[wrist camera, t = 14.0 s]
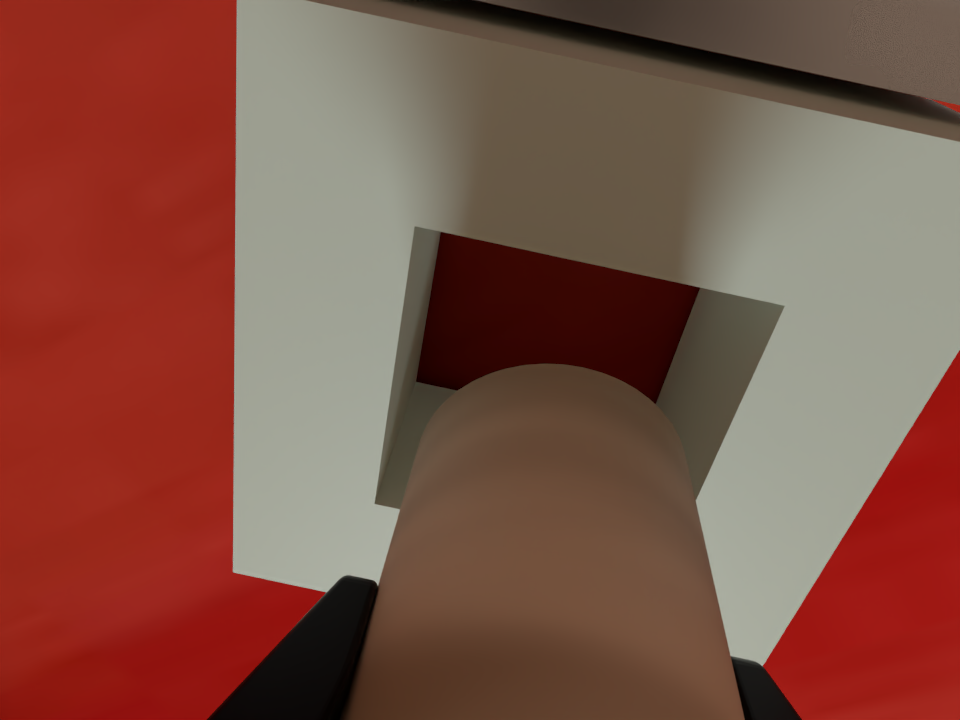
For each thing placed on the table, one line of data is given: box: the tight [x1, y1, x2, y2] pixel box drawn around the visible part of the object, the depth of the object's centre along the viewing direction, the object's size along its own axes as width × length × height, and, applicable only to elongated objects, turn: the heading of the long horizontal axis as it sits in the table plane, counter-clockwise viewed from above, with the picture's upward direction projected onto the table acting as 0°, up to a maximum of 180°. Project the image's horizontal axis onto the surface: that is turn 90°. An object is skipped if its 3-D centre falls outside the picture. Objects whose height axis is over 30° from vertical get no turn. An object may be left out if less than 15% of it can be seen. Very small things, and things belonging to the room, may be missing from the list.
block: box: [233, 0, 960, 666], centre depth 14 cm, size 11×11×4 cm
